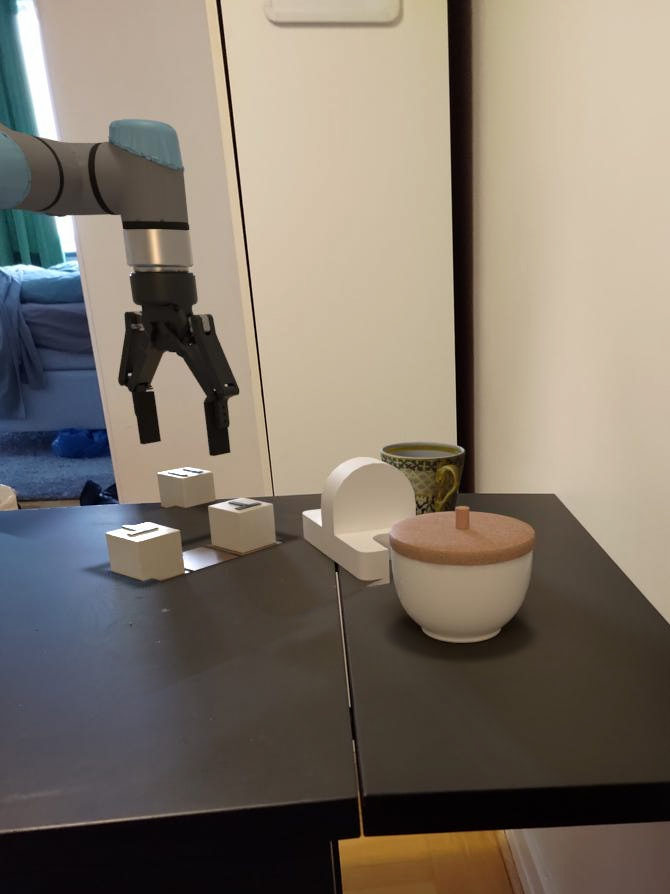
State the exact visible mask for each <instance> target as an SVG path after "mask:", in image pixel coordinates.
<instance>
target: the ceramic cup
mask: <svg viewBox="0 0 670 894" xmlns="http://www.w3.org/2000/svg"><path fill="white" fill-rule="evenodd" d="M379 452H380V453H379V454H380V461H383V462H385V463H387V464H389V465H392V466H394V467H396V468H397V469H398V470H400V471H401V472H403V473H404V474H405V476H406V477H407V478H408V480H409V481H410V483H411V485H412V488H413V490H414V494H415V501H416V516H417V515H421V514H428V513H436V512H450V511H455V508H456V507H457V506H456V505H457V499H458V495H459V487H460V485H461V481H462V476H463V470H464V465H465V458H466V449H465V448H464V447H462V446H459V445H456V444H453V443H446V442H437V441H407V442H406V441H405V442H398V443H397V442H396V443H391V444H388V445H385V446H383V447H381V448H380V451H379Z"/></svg>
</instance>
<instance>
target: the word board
mask: <svg viewBox="0 0 670 894" xmlns="http://www.w3.org/2000/svg"><path fill="white" fill-rule="evenodd" d="M280 544H283V542H282V541H278V540H276V543H273V544H270V545H267V546H263V547H260V548H257V549H254V550H251V551H248V552H244V553H241V552H237V551H233V550H229V549H225V548H221V547H218V546H214V545H212V543H209V544H206V545H205V547H204V546H199V547H195V548H193V549H189V550H185V551H182V552H183V560H184V569H185V573H183V574H179V575H176V576H173V577H170V578H167V579H164V580H161V582H165V581H168V580H171V579H174V578H177V577H178V578H179V577H181V576H183V575H187V574H190V573H191V571H192V572H196V571H199V570H202V569H205V568H209V567H212V566H215V565H218V564H221V563H224V562H228V561H231V560H234V559H236V558H239V557H240V556H247V555H250V554H252V553H256V552H258V551H263V550H265V549H269V548H271V547H275V546H277V545H280Z"/></svg>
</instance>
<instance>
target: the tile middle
mask: <svg viewBox="0 0 670 894" xmlns="http://www.w3.org/2000/svg"><path fill="white" fill-rule="evenodd" d="M156 476H157V483H158V491H159V501H160V507H162V508H165V509H167V508H171V507H175V506H176V507H178V508H184V509H187V508H191V507H196V506H199V505H203V504H207V503H211V502H215V501H216V499H217V498H216V490H215V479H214V472H213V471H210V470H205V469H201V468H195V467H190V466H186V467H180V468H175V469H170V470H166V471H161V472H157V473H156Z"/></svg>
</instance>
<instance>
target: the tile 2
mask: <svg viewBox="0 0 670 894" xmlns="http://www.w3.org/2000/svg"><path fill="white" fill-rule="evenodd" d="M207 509H208V520H209V529H210V538H211V539H210V540H211V544H212V545H214V546H218V547H221V548H225V549H229V550H233V551H237V552H241V553H244V552H248V551H251V550H254V549H257V548H260V547H263V546H267V545H270V544H273V543H276V541H277V538H276V525H275V511H274V503H270V502H266V501H261V500H256V499H252V498H248V497H246V498H245V497H238V498H235V499H234V498H233V499H230V500H227V501H222V502H219V503H218V502H217V503H215V504H211V505H208V506H207Z"/></svg>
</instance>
